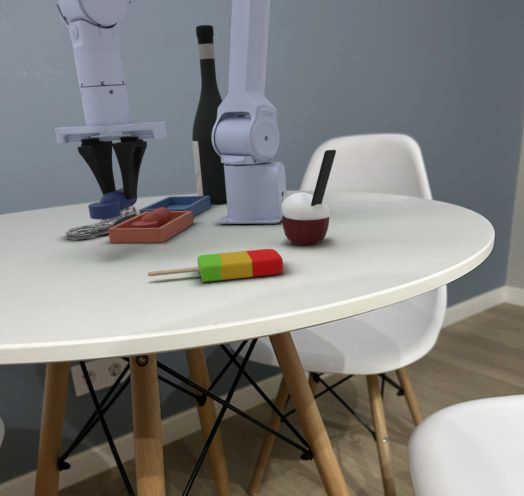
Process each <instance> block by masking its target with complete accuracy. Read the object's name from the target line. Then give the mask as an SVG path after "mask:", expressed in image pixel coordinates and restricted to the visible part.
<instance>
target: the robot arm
mask: <svg viewBox="0 0 524 496" xmlns="http://www.w3.org/2000/svg"><path fill="white" fill-rule="evenodd" d="M57 1H58V2H56V3H55V4H54V5H55V9H56V13H57V14H58V15H57V16H59V18H60V20H61V21H62V23H63V24H64V25H65V27H67V29H68V32H69V36H70V42H71V45H72V51H73V57H74V62H75V63H74V64H75V68H76V69H75V70H76V76H77V81H78V87H79V92H80V98H81V104H82V110H83V115H84V121H85V125H75V126H73V125H72V126H61V127H55V128H54V130H55V137H56V142H57V144H58V145H59V144H62V145H63V144H68V143H69V144H71V143H81V144H80V145H79V146H77V147H76V148H77V153H78V154H79V155H80V156H81V158H82V159H83V160H84V161H85V163H86V164H87V166H88V168H89V170H90V171H91V172H92V174H93V176H94V178H95V180H96V181H97V184H98V186H99V189H100V192H101V193H102V196H103V195H105V194H107V193H110V192H113V191H115V190H117V188H116V182H115V177H114V176H115V175H114V168H113V152H114V153H115V157H116V160H117V163H118V167H119V171H120V175H121V181H122V188H123V189H124V194H125V198H126V199H133V198H135V197H137V198H138V183H139V177H140V176H139V175H140V171H141V165H142V163H143V162H142V161H143V160H144V159H143V158H144V156H145V153H146V150H147V147H148V141H147V140H149V139H150V140H152V139H153V140H161V139H165V138H168V133H167V126H166V121H144V122H142V121H140V122H133V121H132V120H133V119H132V112H131V106H130V99H129V92H128V85H127V79H126V78H127V77H126V71H125V65H124V64H125V63H124V58H123V51H122V43H121V35H120V29H119V23H120V22H122V21H123V20H124V17H125V14H126V11H127V8H128V7H130V6H131V5H132V4H133V3H134V2H135V1H136V0H57ZM270 13H271V0H231V20H230V21H231V23H230V43H229V63H228V64H229V67H228V89H227V91H228V92H227V94H226V96H225V97H224V98H223V99H222V103H221V104H220V105H219V107H218V109H217V120H216V123H215V125H214V127H213V130H212V145H213V148H214V150H215V151H216V153H217V154H218V155H219V156H220V157H221V163H224V172H225V184H226V197H227V203H226V208H227V216H226V217H223V218H222V219H221V220H220V221H219V223H220V224H221V225H234V224H235V225H240V224H241V225H242V224H243V225H245V224H251V225H252V224H253V225H255V224H257V225H258V224H265V225H266V224H280V222H282V215H283V214H282V210H281V204H282V202H283V201H284V200H285V198H286V197H287V178H286V177H287V175H286V169H285V164H284V163H283V162H279V161H274V156H275V155H276V153H277V151H278V149H279V146H280V140H281V139H280V137H281V136H280V130H279V126H278V121H277V120H278V118H277V117H278V116H277V115H278V110H277V108H276V107H275V106H274V105H273V104H272V103H271V102H270V101H269V100H268V98H267V97H266V96H265V94H266V77H267V62H268V61H267V60H268V47H269V46H268V44H269V29H270ZM107 133H108V134H109V133H121V135H110V136H109V135H108V136H100V135H101V134H107ZM113 141H118V142H113Z"/></svg>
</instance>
